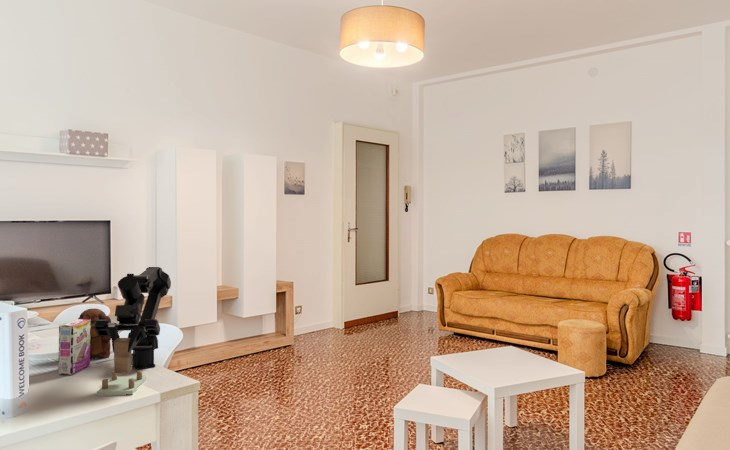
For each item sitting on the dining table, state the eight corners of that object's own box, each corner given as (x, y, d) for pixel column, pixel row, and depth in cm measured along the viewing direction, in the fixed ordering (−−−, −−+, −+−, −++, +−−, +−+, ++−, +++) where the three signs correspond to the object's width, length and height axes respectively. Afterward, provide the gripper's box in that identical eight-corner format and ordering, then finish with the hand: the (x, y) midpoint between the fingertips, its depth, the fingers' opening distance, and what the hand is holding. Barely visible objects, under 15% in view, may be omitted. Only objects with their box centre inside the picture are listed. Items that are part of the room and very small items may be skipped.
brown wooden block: (117, 369, 165) (117, 338, 165) (131, 369, 166) (131, 337, 165) (114, 373, 162) (114, 340, 161) (127, 373, 162) (127, 340, 162)
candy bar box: (72, 375, 174) (72, 325, 174) (57, 375, 174) (57, 325, 174) (91, 365, 185) (91, 318, 185) (77, 365, 186) (77, 318, 185)
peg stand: (113, 380, 170) (113, 368, 170) (146, 379, 171) (146, 368, 171) (96, 395, 156) (97, 383, 156) (132, 394, 157) (132, 382, 157)
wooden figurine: (73, 361, 190) (73, 311, 190) (77, 356, 196) (77, 307, 196) (110, 358, 194) (110, 309, 193) (112, 354, 200) (112, 306, 199)
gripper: (95, 294, 166) (81, 338, 155) (157, 294, 168) (148, 337, 157) (104, 314, 174) (91, 357, 163) (164, 313, 176) (155, 356, 166)
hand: (121, 351), depth 162 cm, fingers closed on brown wooden block, 4 cm apart
